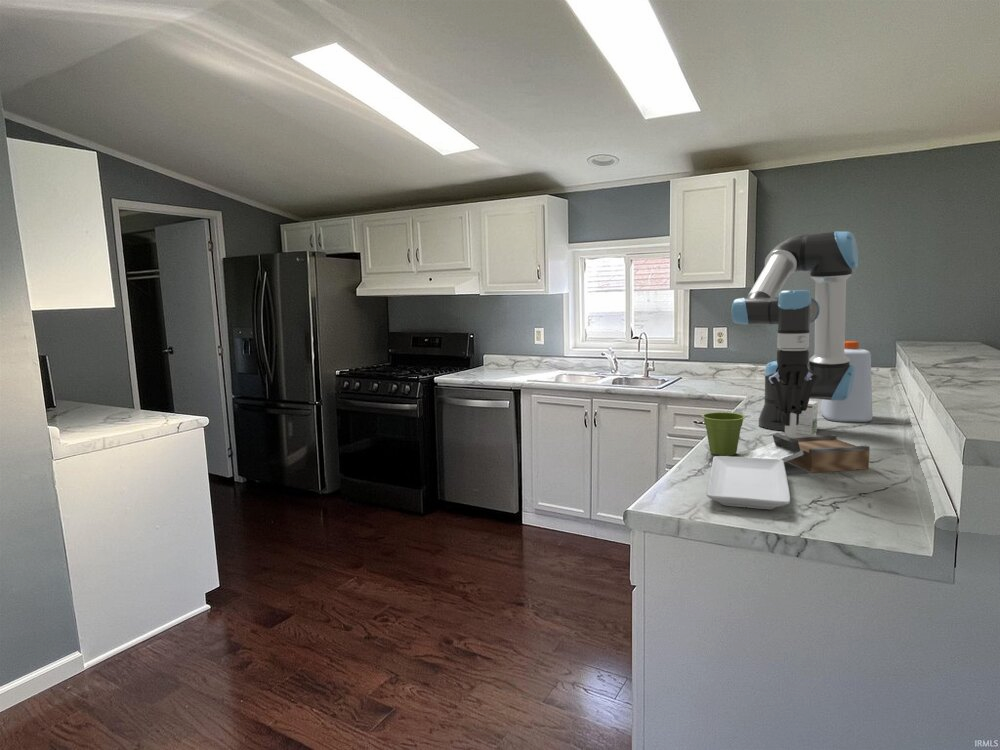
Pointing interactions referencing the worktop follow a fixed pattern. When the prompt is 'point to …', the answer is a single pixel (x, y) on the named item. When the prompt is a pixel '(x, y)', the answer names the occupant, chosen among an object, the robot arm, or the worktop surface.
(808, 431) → the syrup box
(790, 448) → the lid
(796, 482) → the worktop surface
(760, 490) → the tray
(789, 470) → the rubber mat
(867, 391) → the plastic bottle
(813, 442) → the walnut box
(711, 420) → the plant pot
